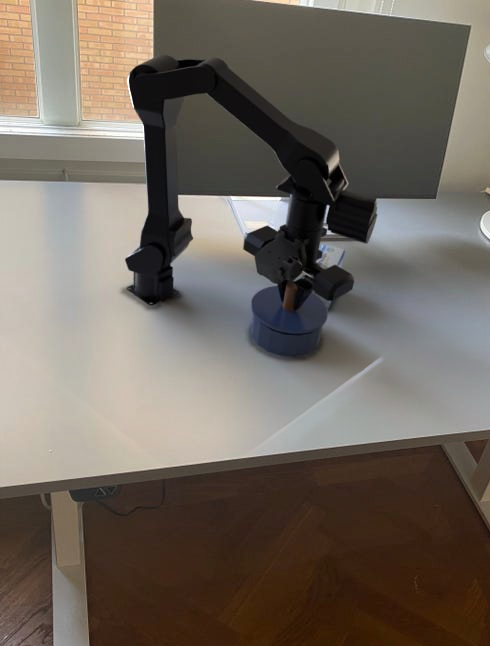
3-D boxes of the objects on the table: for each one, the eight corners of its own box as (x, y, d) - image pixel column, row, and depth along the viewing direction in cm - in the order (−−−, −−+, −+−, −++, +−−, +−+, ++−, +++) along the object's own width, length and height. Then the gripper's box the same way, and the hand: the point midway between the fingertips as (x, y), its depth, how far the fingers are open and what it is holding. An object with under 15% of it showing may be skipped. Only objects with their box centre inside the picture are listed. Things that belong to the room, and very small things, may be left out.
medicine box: (328, 309, 131) (336, 270, 126) (304, 303, 132) (312, 263, 126) (337, 288, 138) (346, 249, 132) (315, 281, 138) (322, 242, 132)
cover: (234, 308, 117) (237, 280, 114) (285, 282, 126) (289, 255, 123) (293, 347, 113) (298, 318, 109) (341, 317, 121) (348, 289, 118)
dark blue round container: (236, 333, 121) (239, 309, 118) (282, 308, 129) (286, 285, 126) (288, 368, 116) (293, 344, 113) (332, 340, 124) (337, 317, 121)
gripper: (222, 210, 107) (214, 296, 116) (319, 266, 100) (302, 353, 109) (272, 191, 114) (261, 273, 124) (365, 243, 108) (345, 325, 117)
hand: (290, 305), depth 118 cm, fingers closed on cover, 2 cm apart
